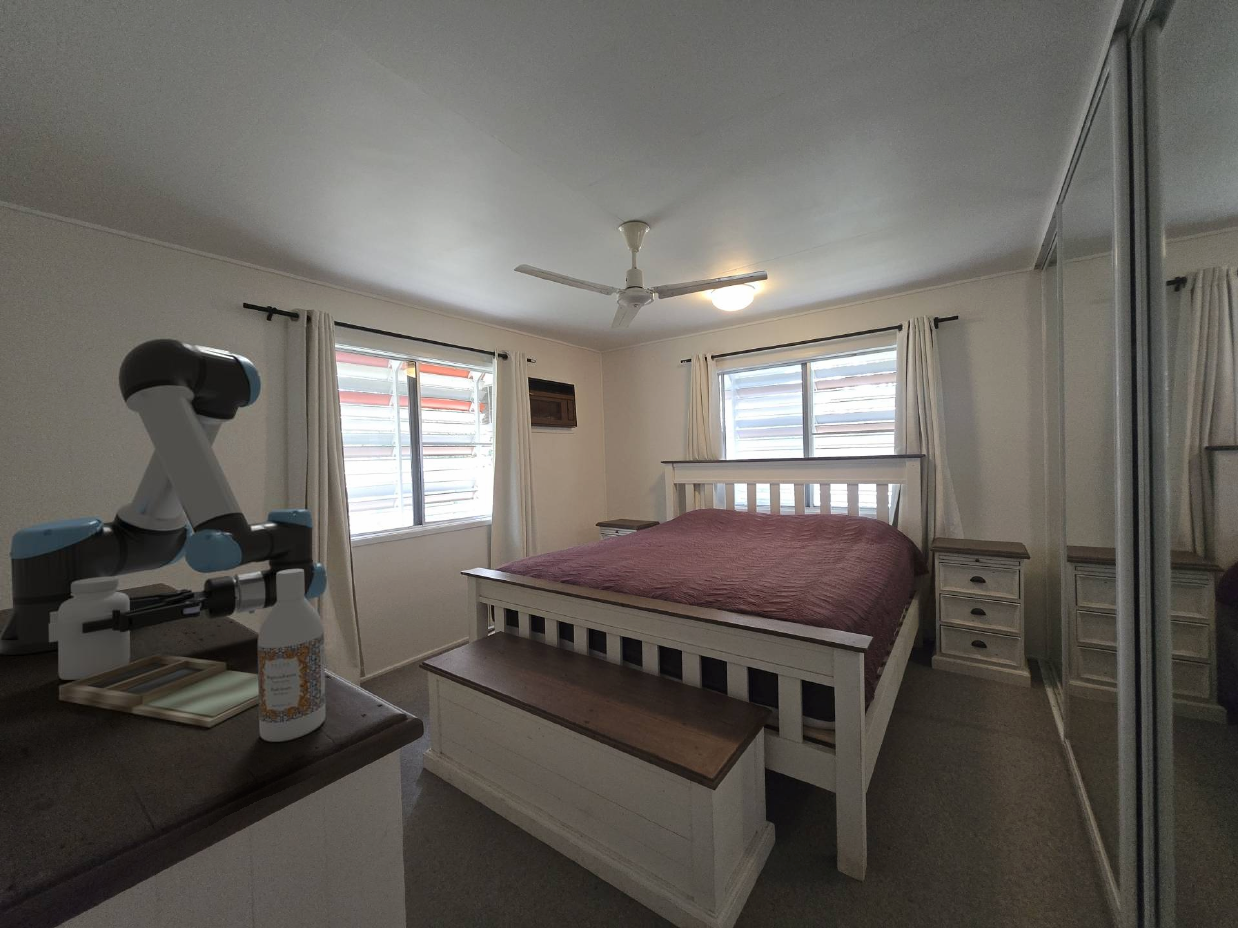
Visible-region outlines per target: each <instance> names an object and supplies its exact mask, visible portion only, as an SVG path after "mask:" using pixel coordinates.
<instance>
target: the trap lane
mask: <svg viewBox="0 0 1238 928" xmlns="http://www.w3.org/2000/svg"><path fill="white" fill-rule="evenodd" d="M58 693H59V694H58V695H59V696H58V697H59V701H64V702H69V703H74V704H75V703H76V704H78V705H79V704H80V705H85V706H90V707H96V708H101V709H107V710H112V711H119V712H124V713H130V714H135V715H140V716H145V717H150V718H151V717H152V718H157V719H163V720H168V721H172V722H173V721H174V722H177V723H179V722H180V723H183V724H189V725H194V726H200V727H205V728H212V727H213V726H215V725H218V724H220V723H221V722H223V721H225V720H228V719H229V718H231V717H234V716H235V715H237V714H239V713H241V712H243V711H246V710H248V709H250V708H251V707H254V706H256V705H259V691H258V673H251V672H243V671H242V672H241V671H235V670H229V669H228V670H227V662H225V661H217V660H207V659H201V658H200V659H199V658H195V657H194V658H193V657H185V656H178V655H170V654H165V653H164V654H163V653H157V654H156V653H155V654H154V655H150V656H146V657H144V658H141V659H138V660H135V661H131V662H129V663H128V664H125V665H122V666H119V667H116V668H113V669H110V670H107V671H104V672H101V673H98V674H95V675H92V676H89V677H85V678H82V679H77V680H74V681H73V680H72V681H71V682H70V681H69V682H67V683H65V684H60V685H58Z"/></svg>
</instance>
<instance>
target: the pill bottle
mask: <svg viewBox="0 0 1238 928" xmlns="http://www.w3.org/2000/svg"><path fill="white" fill-rule="evenodd" d="M119 580H120V579H119V577H118V576H114V577H97V578H89V579H83V580H78V581H75V582H73V583H72V584H71V592H73V593H71V596H74V597H73V598H71V599H69V600H67V601H65V602H64V603H62V604H61V606H60V607H59V610H58V622H61V621H67V620H73V619H79V618H84V617H90V616H96V615H102V614H108V613H111V614H112V611H113V610H115V609H116V610H120V613H122V612H126V611H130V600H129V598H130V597H129V596H128V595H127V594H126V593H124V592H119V591H118V589H119V586H120V581H119ZM130 633H131V630H130V631H127V632H119V630H118V631H116V630H115V631H113V628H112V631H107V632H102V633H96V634H91V635H86V636H81V637H75V638H70V639H65V640H60V641H58V649H57V650H58V651H57V652H58V653H57V654H58V657H57V659H58V661H57V664H58V669H57V670H58V671H57V672H58V676H59V678H60V679H61V680H64V681H73V680H74V681H76V680H79V679H82V678H85V677H89V676H92V675H95V674H98V673H101V672H104V671H107V670H110V669H113V668H116V667H119V666H122V665H125V664H128V663H130V660H131V659H130V658H131V635H130Z"/></svg>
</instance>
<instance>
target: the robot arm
mask: <svg viewBox="0 0 1238 928" xmlns="http://www.w3.org/2000/svg"><path fill="white" fill-rule="evenodd" d="M261 383H262V381H261V376H260V375H259V372H258V369H257V367H256V366H255V364H254V363H252V361H251V360H249V358H247V357H245V356H243V355H239V354H236V353H234V352H230V351H228V350H223V349H219V348H218V349H217V348H212V347H209V346H204V345H198V344H193V343H190V342H184V341H182V340H177V339H171V338H160V339H159V338H158V339H157V338H155V339H153V340H152V339H151V340H148V341H145V342H143V343H141V344H138V345H137V346H134V348H132V349H131V350H130V351H129V352H128V353H127V354H126V356H125V357H124V359H123V361H122V362H121V365H120V367H119V371H118V386H119V389H120V393H121V397H122V399H123V400H124V402H125V404H126V407H127V408H128V409H129V410H130V411H131V412H135V413H137V414H138V415H139V418H140V419H141V422H142V423H143V426H144V429H145V430H146V433H147V434H148V436H149V439H150V441H151V444H152V445H153V447H154V451H153V453H152V455H151V458H150V459H149V462H148V464H147V467H146V469H145V471H144V473H143V476H142V478H141V481H140V482H139V485H138V487H137V490H136V492H135V494H134V497H133V499H132V501H131V502H130V503H127V504H123V505H121V506H120V507H119V508H118V510H117V512H116V513H115V516H114V519H113V521H111V522H110V521H109V522H103V520H102V518H99V517H78V518H71V519H64V520H63V519H62V520H57V521H56V520H55V521H50V522H45V523H40V524H35V525H31V526H27V527H24V528H22V529H20V530H18V531H16V532H15V533H14V534H13V535H12V537H11V546H10V552H9V557H10V559H11V560H10V563H11V565H10V566H11V568H10V569H11V588H12V589H11V592H12V608H11V609H12V610H11V612H10V614H9V616H8V618H7V620H6V622H5V625H4V627H3V629H2V632H1V634H0V655H5V656H6V655H7V656H9V655H10V656H11V655H12V656H16V655H30V654H35V653H36V654H37V653H42V652H48V651H49V652H50V651H56V650H58V641H60V640H65V639H70V638H75V637H81V636H86V635H91V634H96V633H102V632H107V631H112V628H113V631H115V630H116V631H118V630H119V632H127V631H130V632H131V631H133V630H138V629H142V628H147V627H152V626H156V625H161V624H164V623H170V622H174V621H178V620H183V619H190V618H197V617H199V616H200V615H201V613H200V611H204V612H205V613H204V614H205V616H206V617H207V618H208V619H209V620H213V619H219V618H224V617H229V616H232V615H234V612H235V613H236V614H242V613H247V612H248V614H250V615H253V614H254V613H255V611H256V610H262V609H267V608H273V606H274V605H275V603H276V602H277V588H276V574H277V572H280V571H283V570H289V569H303V570H304V589H305V593H304V596H305V598H306V599H307V601H309V600H312V599H315V598H319V597H320V596H323V594H324V593H325V591H326V590H327V584H328V583H327V581H328V578H327V573H326V572H327V570H326V568H325V566H324V565H323V564H322V563H321V562H315V561H314V560H313V530H314V527H313V522H312V521H313V520H312V513H311V512H310V510H309V509H306V508H287V509H286V508H285V509H275V510H271V511H270V512H269V513H268V514H267V520H266V521H264V522H258V523H256V522H255V523H250V524H249V522H248V521H247V519H246V517H245V514H244V513H243V511H242V509H241V507H240V505H239V503H238V500H237V498H236V496H235V494H234V492H233V490H232V488H231V486H230V483H229V481H228V479H227V478H226V475H225V473H224V471H223V469H222V466H221V465H220V463H219V461H218V458H217V456H216V453H215V452H214V450H213V444H214V442H215V441H216V438H217V435H218V434H219V431H220V429H221V428H222V424H223V423H226V422H229V421H232V420H234V418H235V416H237V415H236V414H237V412H238V410H239V408H247V407H249V406H251V405H254V403H256V401H257V400H258V399H259V396H260V395H261V394H260V393H261V386H262V384H261ZM188 521H189V522H188ZM184 558H185V562H186V563H187V565H188V566H189V567H190V568H191V569H192V570H194V571H195V572H198V573H202V574H209V573H217V572H222V571H223V572H224V571H230V570H233V569H234V570H235V569H237V568H240V567H243V566H249V565H252V564H256V563H263V562H266V561H267V562H268V565H269V569H265V570H256V571H250V572H244V573H243V572H242V573H237V574H234V575H233V577H232V576H229V575H227V576H226V575H225V576H219V577H217V576H216V577H211V578H207V579H206V580H205V582H204V585H203V588H204V589H203V590H201V591H193V590H192V589H188V588H184V589H180V590H175V591H169V592H162V593H155V594H147V595H140V596H139V595H138V596H133V597H129V600H130V611H126V612H122V613H120V610H116V609H115V610H113V611H112V614H111V613H108V614H102V615H96V616H90V617H84V618H79V619H73V620H67V621H61V622H58V610H59V607H60V606H61V604H62V603H64V602H65V601H67V600H69V599H71V598H73V597H74V596H71V593H73V592H71V584H72V583H73V582H75V581H78V580H83V579H89V578H97V577H118V576H119V577H120V576H123V575H129V574H134V573H139V572H144V571H145V572H146V571H152V570H157V569H161V568H164V567H167V566H172V565H173V564H176V563H177V562H179V561H181V560H182V559H184Z"/></svg>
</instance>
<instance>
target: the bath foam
mask: <svg viewBox="0 0 1238 928" xmlns="http://www.w3.org/2000/svg"><path fill="white" fill-rule="evenodd" d="M276 588H277V602H276V603H275V605H274V606H273V607H271V610H269V612H268V613H267V615H266V617H265V618H264V620H263V622H262V624H261V626H260V628H259V629H260V630H259V632H258V638H257V644H256V645H257V674H258V691H259V703H258V720H259V724H258V725H259V736H260V738H262V740H264V741H267V742H271V743H275V742H276V743H279V742H280V743H281V742H287V741H292V740H295V739H298V738H300V737H303V736H306V735H308V734H310V733H312V732H313V731H315V730H316V729H318V728H319V727H320V726H321V725H322V724H323V723H324V721H325V718H326V675H325V674H326V673H325V672H326V671H325V670H326V669H325V668H326V666H325V665H326V663H325V661H326V659H325V632H324V631H325V630H324V625H323V622H322V618H321V617H320V613H319V612H318V611H317V610H316V609H315V607H314V606H313V604H311V603H310V601H309V600H307V599H306V598H305V596H304V593H305V589H304V570H303V569H289V570H283V571H280V572H277V574H276Z"/></svg>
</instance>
